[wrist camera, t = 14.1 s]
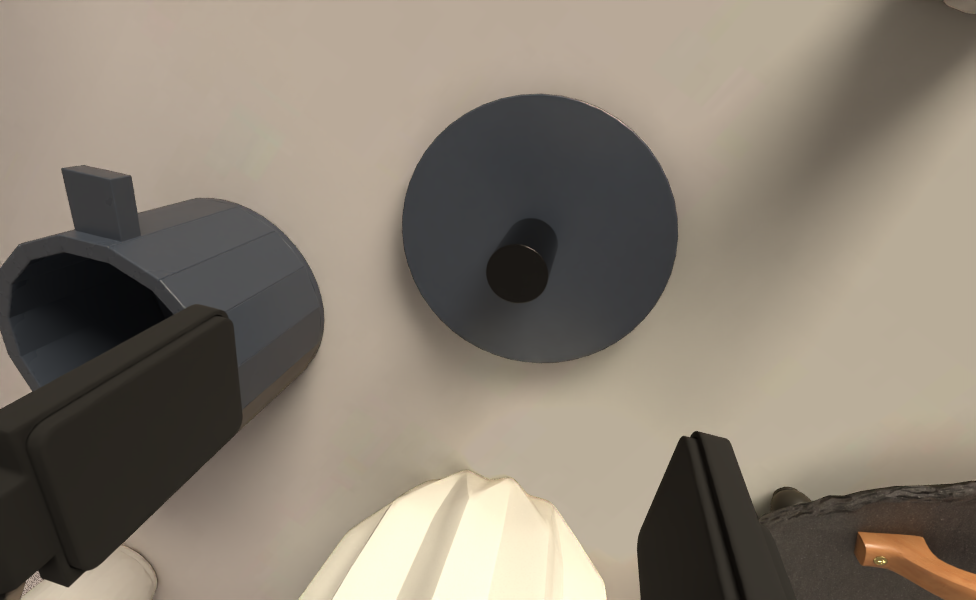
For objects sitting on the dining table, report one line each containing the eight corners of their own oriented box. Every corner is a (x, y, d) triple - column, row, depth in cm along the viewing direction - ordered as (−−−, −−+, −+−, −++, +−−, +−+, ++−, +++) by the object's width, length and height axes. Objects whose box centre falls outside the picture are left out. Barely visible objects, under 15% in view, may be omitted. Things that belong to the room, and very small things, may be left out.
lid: (400, 322, 28) (357, 371, 23) (421, 71, 23) (369, 65, 18) (630, 379, 27) (637, 445, 22) (717, 122, 21) (753, 131, 16)
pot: (166, 387, 35) (45, 469, 27) (123, 131, 27) (-61, 147, 20) (324, 432, 33) (241, 533, 26) (325, 173, 26) (208, 207, 18)
